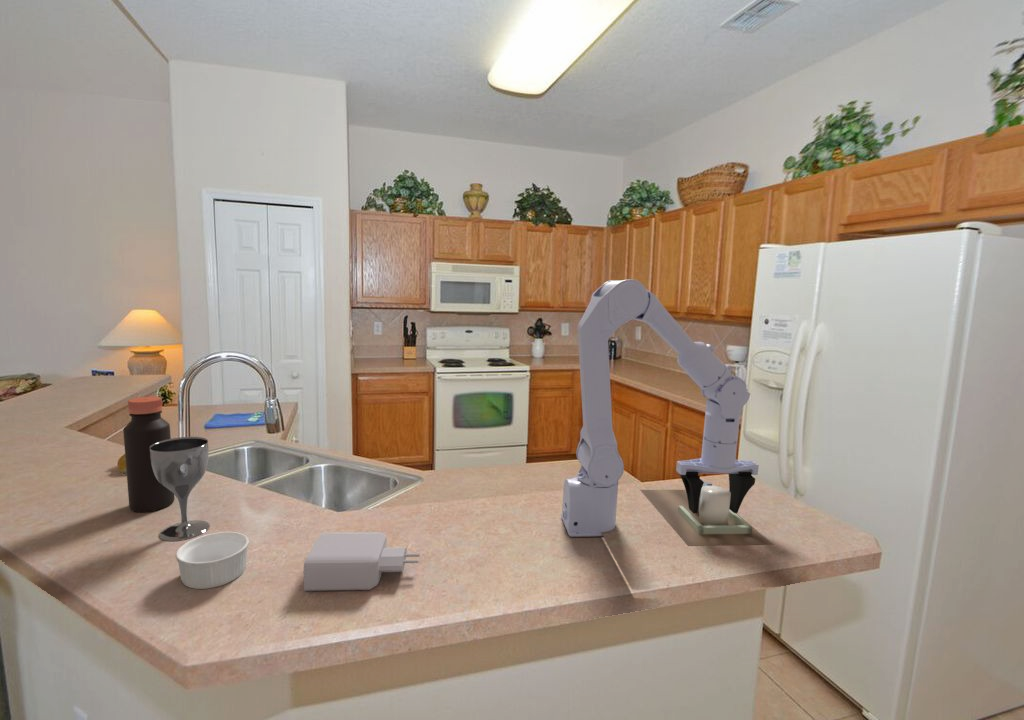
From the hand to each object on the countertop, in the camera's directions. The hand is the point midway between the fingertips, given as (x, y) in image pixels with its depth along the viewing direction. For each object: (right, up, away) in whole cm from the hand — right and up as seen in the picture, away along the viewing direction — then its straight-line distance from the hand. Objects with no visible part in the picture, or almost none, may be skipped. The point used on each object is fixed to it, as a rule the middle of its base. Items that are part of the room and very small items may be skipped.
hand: (713, 510), depth 91 cm
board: (-1, -2, +3) cm, 4 cm away
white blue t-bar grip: (0, -2, +2) cm, 3 cm away
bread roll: (-120, +4, +19) cm, 121 cm away
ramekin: (-80, -3, -20) cm, 82 cm away
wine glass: (-92, -1, -8) cm, 92 cm away
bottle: (-104, +1, +1) cm, 104 cm away
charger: (-58, -4, -18) cm, 61 cm away
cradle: (0, -2, 0) cm, 2 cm away
